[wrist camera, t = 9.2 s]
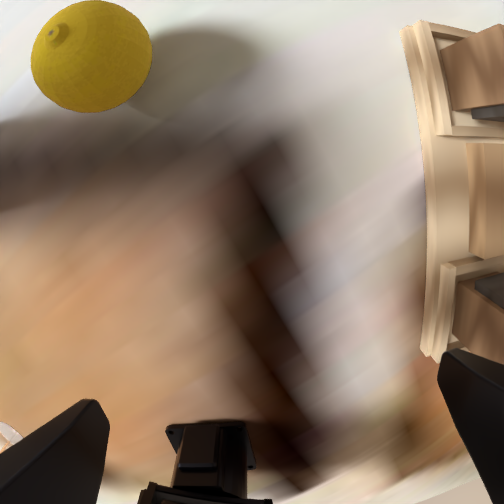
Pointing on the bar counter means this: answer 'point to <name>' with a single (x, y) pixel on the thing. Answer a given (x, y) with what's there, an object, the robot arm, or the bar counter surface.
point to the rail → (458, 207)
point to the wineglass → (9, 435)
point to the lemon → (91, 56)
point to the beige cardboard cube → (477, 74)
